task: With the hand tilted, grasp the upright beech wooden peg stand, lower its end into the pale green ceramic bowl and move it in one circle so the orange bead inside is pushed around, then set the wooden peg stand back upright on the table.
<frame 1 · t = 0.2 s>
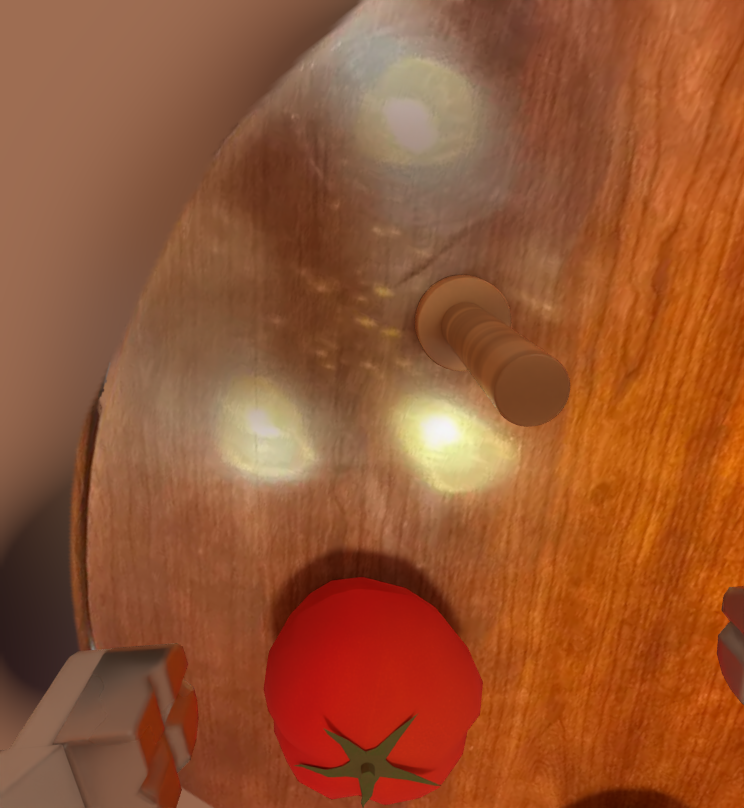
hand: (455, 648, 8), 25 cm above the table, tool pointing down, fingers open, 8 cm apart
tomato: (370, 625, 39), on the table
wooden peg stand: (459, 320, 32), on the table
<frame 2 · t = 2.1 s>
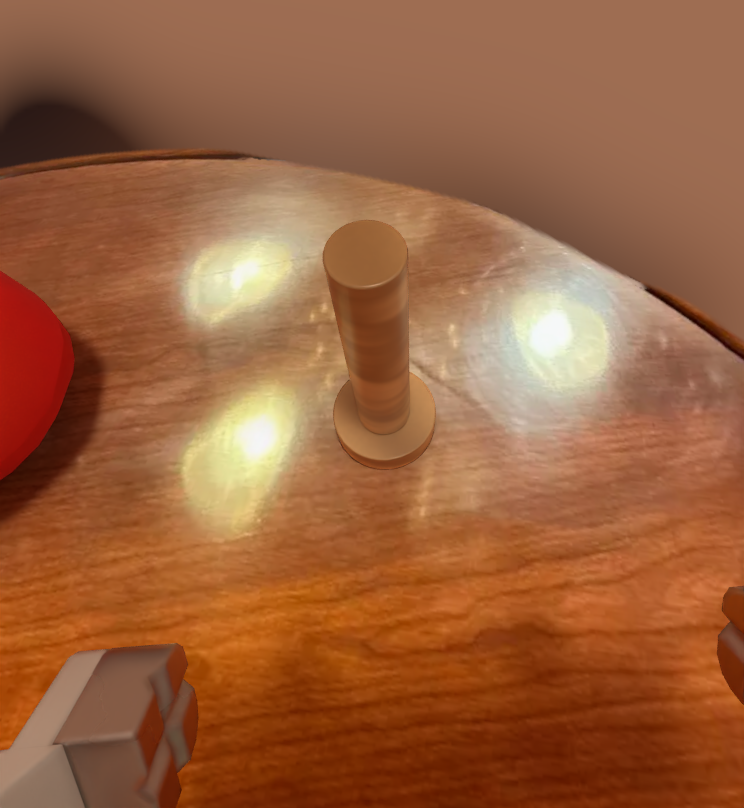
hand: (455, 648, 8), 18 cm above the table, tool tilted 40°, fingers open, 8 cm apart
wooden peg stand: (385, 422, 30), on the table
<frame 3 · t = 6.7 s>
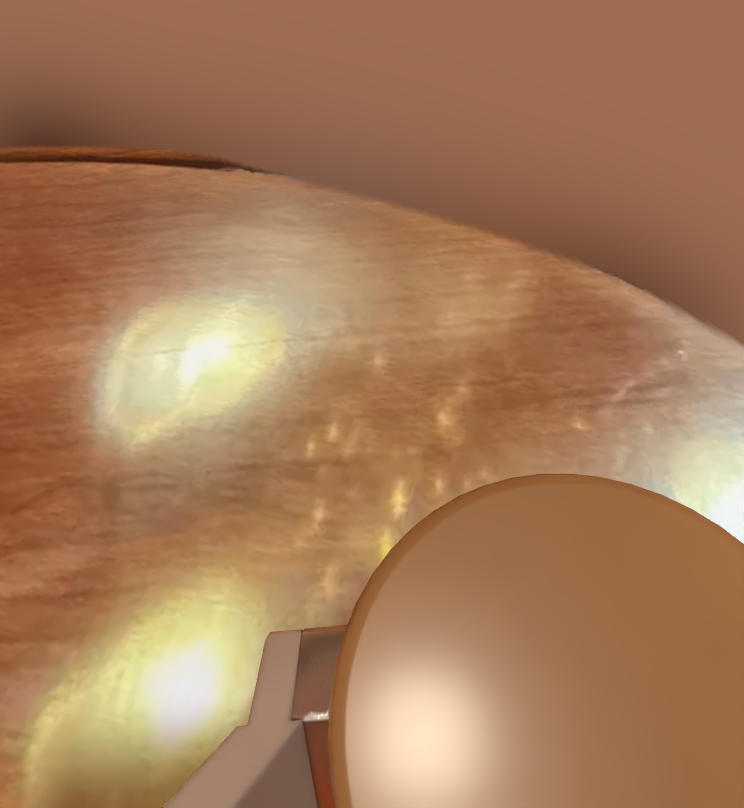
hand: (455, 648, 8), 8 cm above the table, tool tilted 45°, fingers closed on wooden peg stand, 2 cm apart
wooden peg stand: (433, 687, 15), on the table, touching gripper
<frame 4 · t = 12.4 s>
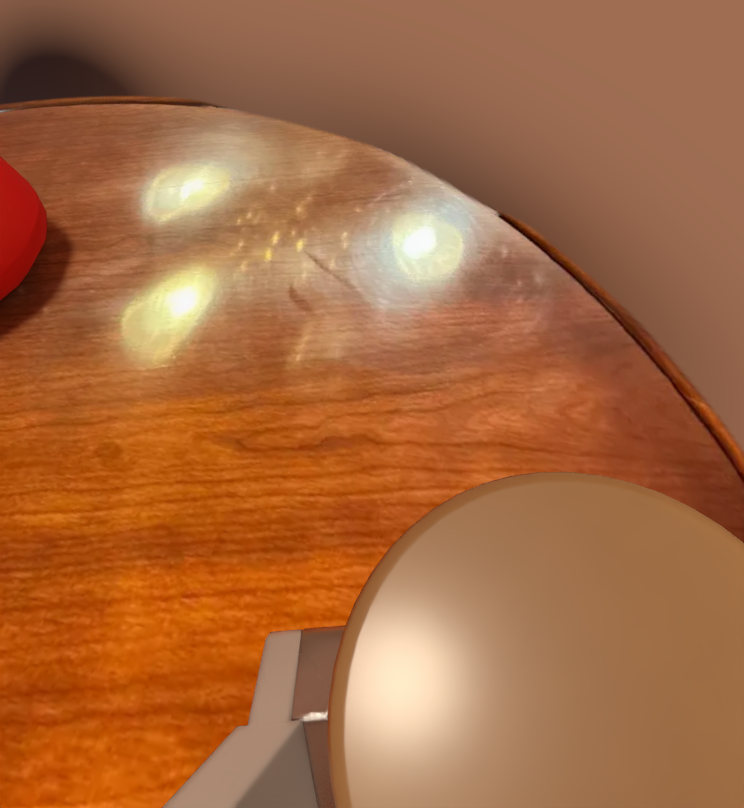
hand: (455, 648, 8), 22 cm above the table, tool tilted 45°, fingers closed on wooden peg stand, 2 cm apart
wooden peg stand: (433, 687, 15), point 14 cm above the table, touching gripper
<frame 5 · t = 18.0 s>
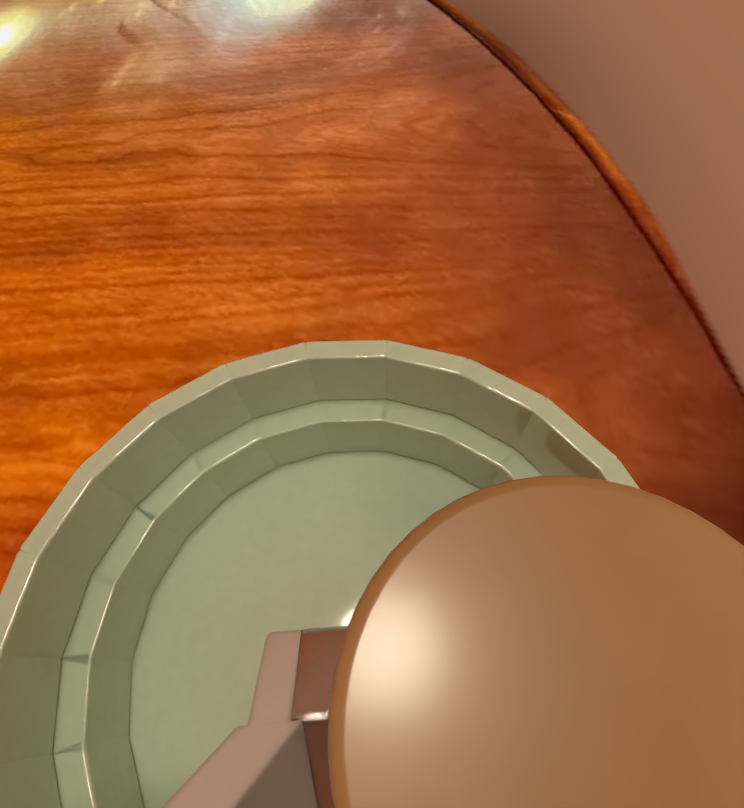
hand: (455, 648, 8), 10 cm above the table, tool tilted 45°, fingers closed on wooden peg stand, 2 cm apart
wooden peg stand: (433, 688, 15), point 2 cm above the table, touching bead, gripper
mixing bowl: (356, 661, 18), on the table
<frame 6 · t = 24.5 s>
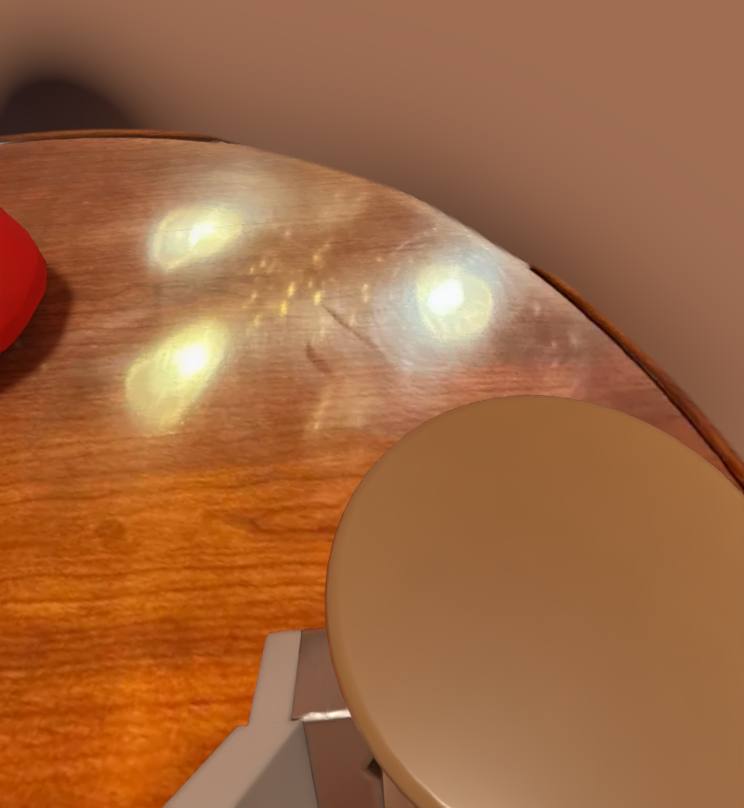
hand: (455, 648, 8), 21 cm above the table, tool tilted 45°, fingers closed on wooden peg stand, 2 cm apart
wooden peg stand: (441, 748, 14), point 13 cm above the table, tilted 8°, touching gripper
when the fingers open (8 cm above the table, at t = 30.8 s): wooden peg stand stays where it is, on the table.
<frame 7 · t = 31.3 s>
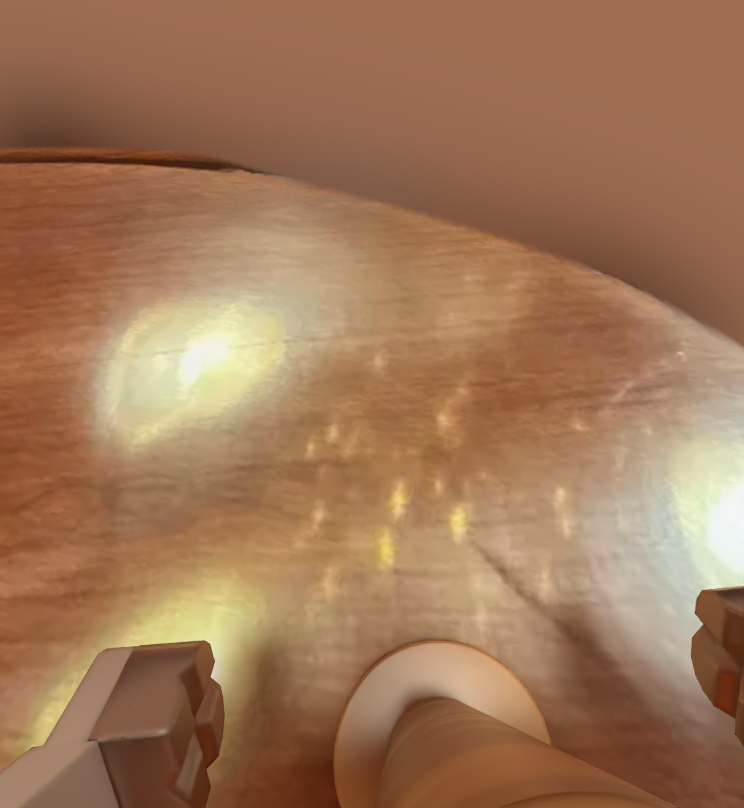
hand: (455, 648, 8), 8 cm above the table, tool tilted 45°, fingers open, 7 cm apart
wooden peg stand: (439, 751, 15), on the table
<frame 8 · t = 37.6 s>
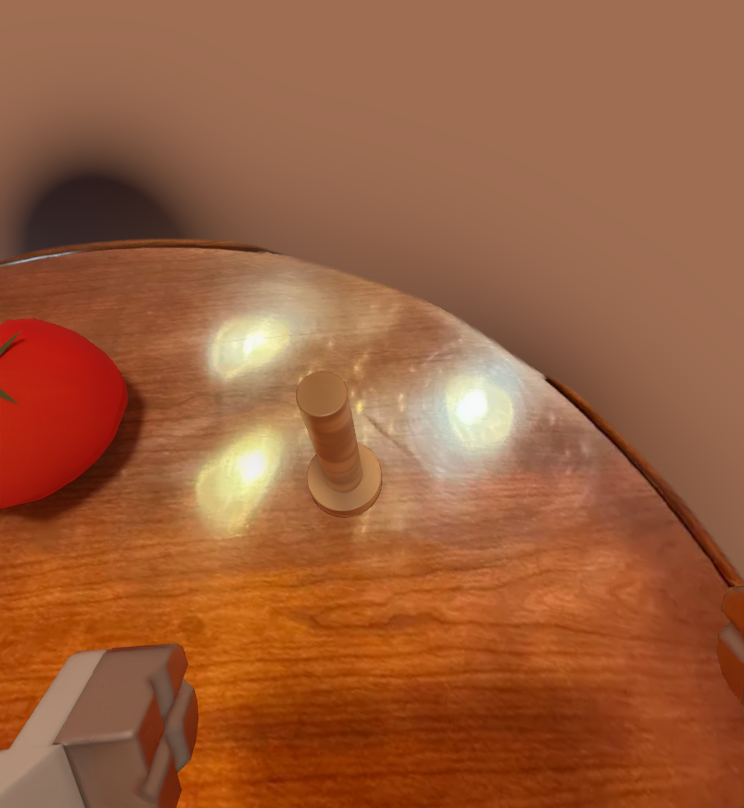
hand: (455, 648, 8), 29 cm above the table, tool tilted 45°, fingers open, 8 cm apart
tomato: (64, 441, 43), on the table
wooden peg stand: (346, 481, 40), on the table
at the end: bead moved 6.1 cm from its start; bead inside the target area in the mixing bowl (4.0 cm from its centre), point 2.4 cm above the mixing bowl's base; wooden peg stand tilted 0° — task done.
